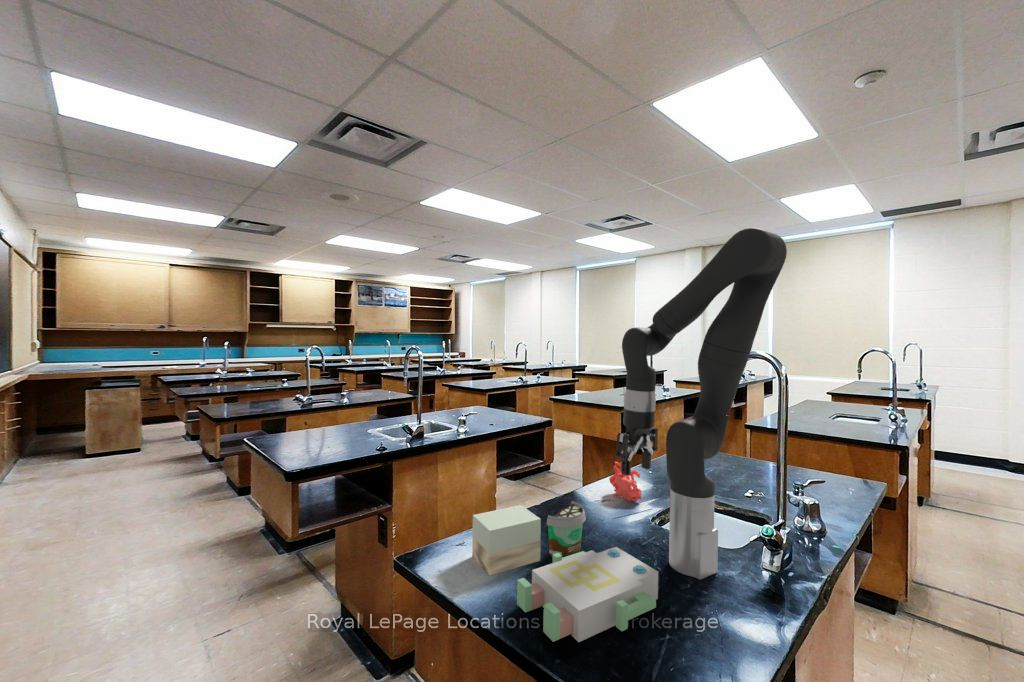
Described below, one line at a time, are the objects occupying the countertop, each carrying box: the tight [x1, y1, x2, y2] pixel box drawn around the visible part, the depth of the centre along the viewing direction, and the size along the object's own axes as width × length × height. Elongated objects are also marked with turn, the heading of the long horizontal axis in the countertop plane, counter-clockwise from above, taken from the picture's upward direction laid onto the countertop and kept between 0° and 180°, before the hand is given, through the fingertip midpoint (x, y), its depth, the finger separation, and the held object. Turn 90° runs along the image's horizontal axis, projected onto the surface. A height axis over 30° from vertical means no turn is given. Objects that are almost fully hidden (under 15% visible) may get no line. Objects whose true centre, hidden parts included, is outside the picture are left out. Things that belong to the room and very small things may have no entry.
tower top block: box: [472, 504, 542, 554], centre depth 98 cm, size 9×13×5 cm
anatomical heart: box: [608, 461, 642, 503], centre depth 136 cm, size 9×12×12 cm
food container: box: [546, 500, 587, 558], centre depth 101 cm, size 12×6×10 cm, turn 143°
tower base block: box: [471, 536, 542, 576], centre depth 98 cm, size 9×13×5 cm
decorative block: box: [516, 546, 659, 643], centre depth 82 cm, size 26×6×20 cm
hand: (636, 471), depth 106 cm, fingers open, 8 cm apart
